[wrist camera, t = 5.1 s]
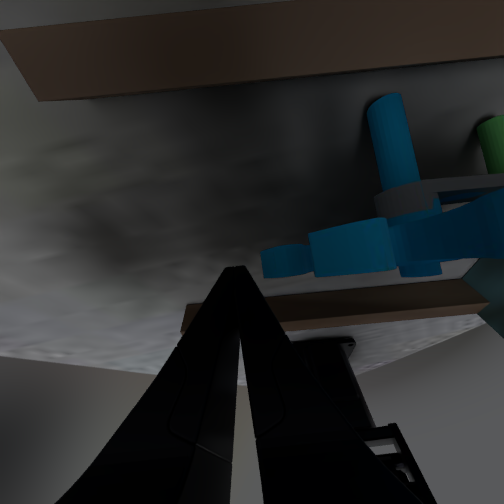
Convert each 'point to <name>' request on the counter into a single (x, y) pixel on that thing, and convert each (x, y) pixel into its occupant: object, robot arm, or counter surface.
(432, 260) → the blue irregular piece
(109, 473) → the robot arm
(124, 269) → the counter surface
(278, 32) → the guide channel
